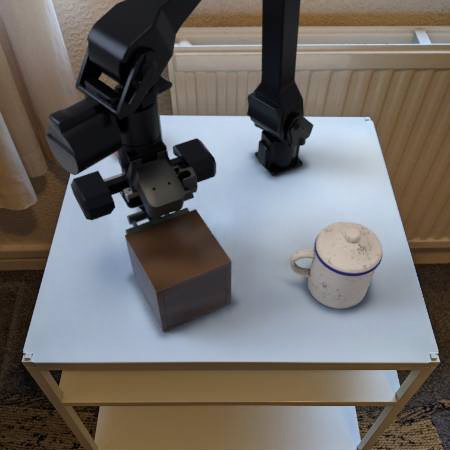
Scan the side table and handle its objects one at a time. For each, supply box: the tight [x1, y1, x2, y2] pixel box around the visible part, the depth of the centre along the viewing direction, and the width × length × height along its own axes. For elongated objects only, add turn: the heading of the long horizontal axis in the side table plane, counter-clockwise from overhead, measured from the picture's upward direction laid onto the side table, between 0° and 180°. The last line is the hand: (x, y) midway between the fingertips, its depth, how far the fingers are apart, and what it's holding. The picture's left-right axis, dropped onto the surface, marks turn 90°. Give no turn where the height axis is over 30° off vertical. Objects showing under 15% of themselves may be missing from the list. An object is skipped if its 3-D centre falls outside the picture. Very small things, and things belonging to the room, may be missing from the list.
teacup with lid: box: [289, 221, 384, 310], centre depth 70 cm, size 12×9×12 cm
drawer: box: [125, 207, 190, 235], centre depth 72 cm, size 14×9×8 cm, turn 28°
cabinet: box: [124, 208, 233, 333], centre depth 70 cm, size 11×11×10 cm
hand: (152, 221), depth 74 cm, fingers closed
